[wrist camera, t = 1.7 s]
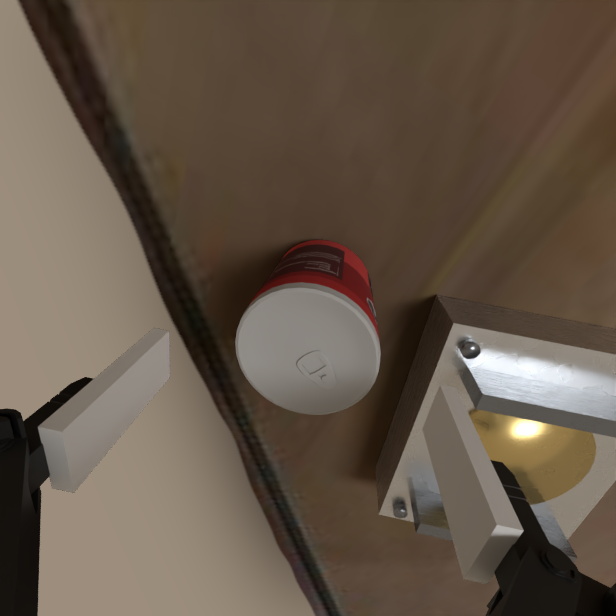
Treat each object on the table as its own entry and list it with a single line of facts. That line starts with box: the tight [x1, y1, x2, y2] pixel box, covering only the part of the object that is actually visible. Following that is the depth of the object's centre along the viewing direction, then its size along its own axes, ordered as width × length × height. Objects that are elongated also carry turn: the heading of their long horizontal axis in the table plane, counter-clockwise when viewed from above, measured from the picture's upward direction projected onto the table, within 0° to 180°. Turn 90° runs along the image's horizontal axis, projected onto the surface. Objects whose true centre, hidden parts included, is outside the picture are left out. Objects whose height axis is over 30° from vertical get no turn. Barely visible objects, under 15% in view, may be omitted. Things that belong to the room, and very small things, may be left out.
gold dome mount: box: [375, 295, 616, 562], centre depth 27 cm, size 20×16×8 cm
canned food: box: [235, 240, 381, 415], centre depth 22 cm, size 8×8×11 cm
